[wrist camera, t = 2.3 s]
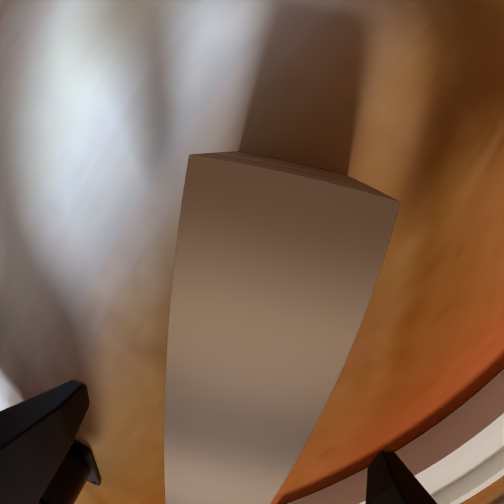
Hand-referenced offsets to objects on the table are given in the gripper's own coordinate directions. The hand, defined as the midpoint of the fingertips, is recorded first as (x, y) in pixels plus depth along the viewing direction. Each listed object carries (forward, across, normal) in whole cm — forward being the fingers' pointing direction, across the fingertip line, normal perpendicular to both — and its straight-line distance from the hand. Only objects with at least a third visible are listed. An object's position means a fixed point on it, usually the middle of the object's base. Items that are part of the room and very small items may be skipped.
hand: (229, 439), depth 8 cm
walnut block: (+6, 0, 0) cm, 6 cm away
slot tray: (+6, -14, +10) cm, 18 cm away
